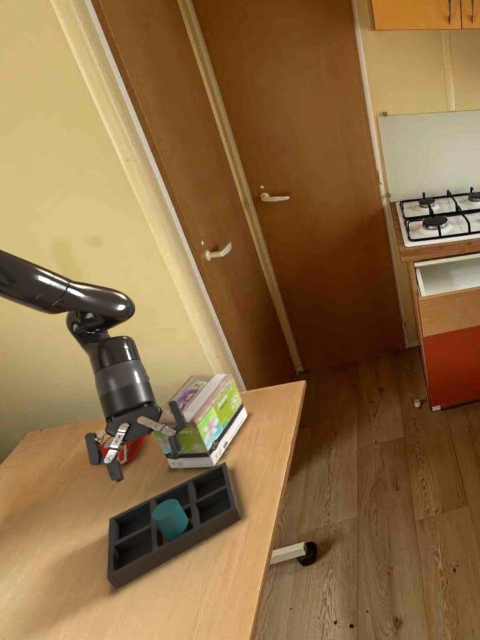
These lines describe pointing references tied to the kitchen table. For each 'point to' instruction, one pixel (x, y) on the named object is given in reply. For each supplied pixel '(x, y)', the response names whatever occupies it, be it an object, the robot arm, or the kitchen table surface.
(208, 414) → the tea box
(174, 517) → the cylinder
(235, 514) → the grid
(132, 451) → the tracker holder
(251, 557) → the kitchen table surface
